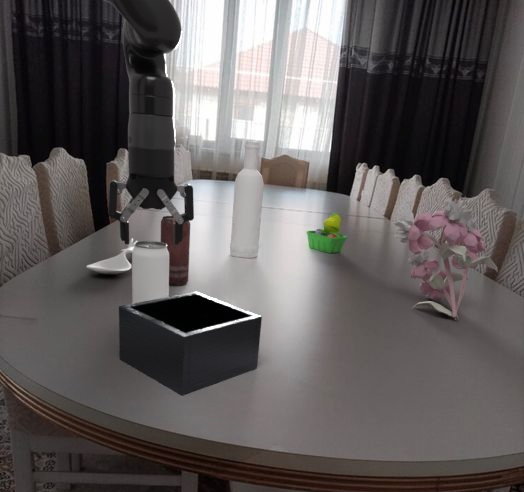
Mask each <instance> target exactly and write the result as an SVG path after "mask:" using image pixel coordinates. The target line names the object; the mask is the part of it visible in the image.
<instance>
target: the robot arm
mask: <svg viewBox="0 0 524 492" xmlns="http://www.w3.org/2000/svg"><path fill="white" fill-rule="evenodd" d="M101 1H102V2H104V3H107V4H110V5H111V6H113V7H114V9H116V11H117V12H118V13H119V14H120V15H121V16H122V18H123V22H122V49H123V55H124V60H125V66H126V73H127V76H128V82H129V83H128V110H129V111H128V112H129V114H128V123H127V124H128V125H127V157H128V158H127V159H128V162H127V163H128V165H127V166H128V178H127V180H126V181H119V180H115V179H110V180H109V182H108V216H109V218H111V219H114V220H116V221H119V238H120V240H121V241H122V242H124V245H129V242H130V222H129V219H130V218H131V216H132V214H134V213H135V212H136V211H137V209H138V208H140V209H142V210H150V209H153V210H159V211H162V210H163V209H164V208H165V209H166V210H167V211H168V212H169V214H170V216H173V218H174V219H175V222H174V227H173V243H174V245H179V242H182V240H183V224H184V223H185V222H187V221H189V222H191V221H193V220H194V219H195V211H194V209H195V208H194V206H195V205H194V187H193V186H192V185H191V184H190V183H185V184H176V181H175V166H176V165H175V164H176V163H175V162H176V157H175V156H176V144H177V141H176V128H175V118H174V117H175V87H174V83H173V80H172V79H171V78H170V77H169V76H168V74H167V63H166V55H168V54H170V53H172V52H173V51H175V50H176V49H177V48H178V46H179V44H180V42H181V39H182V33H183V31H182V30H183V29H182V24H181V20H180V16H179V15H178V13H177V11H176V9H175V7H174V5H173V4H172V2H171V1H170V0H101ZM124 189H126V191H127V192H128V194H129V196H130V197H131V198H130V200H129V201H128V202H127V203H126V205H125V207H124V208H123V209H122V211H119V210H117V209H118V196H119V195H121V194H122V193H123V190H124ZM178 192H179V195H180V197H182V198H183V204H184V205H183V206H184V212H183V213H181V214H180V212H179V211H178V210H177V208H176V206H175V205H174V204H173V202H172V199H174V196H175V195H176V194H177V193H178Z"/></svg>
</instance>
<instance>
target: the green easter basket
mask: <svg viewBox="0 0 524 492" xmlns="http://www.w3.org/2000/svg"><path fill="white" fill-rule="evenodd" d="M340 216H341V215H340V214H339V213H336V212H333V213H332V214H331V215H330V216H329V217H328V218H326V219H325V220H324V221H323V229H322V228H317V229H316V230H306V231H305V233H306V235H307V241H308V248H309V249H314V250H317V251H320V252H324V253H328V254H335V253H341V251H342V250H343V247H344V245H345V242H346V240H347V239H348V236H347V235H343V234H340V233H339V232H340V230H341V223H342V219H341V217H340Z"/></svg>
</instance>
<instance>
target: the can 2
mask: <svg viewBox="0 0 524 492" xmlns="http://www.w3.org/2000/svg"><path fill="white" fill-rule="evenodd" d="M174 222H175V219H174V218H173V216H172V215H165V216H162V219H161V220H160V242H162V243H165V244H167V250H168V252H169V287H170V286H171V287H182V286H186V285H187V284H188V282H189V272H190V271H189V270H190V247H191V244H190V243H191V221H187V222H185V223H184V224H183V240H182V242H179V245H174V243H173V227H174Z"/></svg>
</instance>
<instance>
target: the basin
mask: <svg viewBox="0 0 524 492" xmlns="http://www.w3.org/2000/svg"><path fill="white" fill-rule="evenodd" d="M262 320H263V316H261V315H259V314H256V313H253V312H251V311H249V310H246V309H243V308H241V307H238V306H235V305H233V304H230V303H228V302H226V301H222V300H220V299H217V298H215V297H212V296H209V295H207V294H205V293H201V292H199V291H193V292H186V293H182V294H176V295H171V296H168V297H165V298H160V299H155V300H149V301H144V302H139V303H134V304H132V303H128V304H122V305H118V332H119V333H118V335H119V336H118V337H119V360H120V361H122V362H124V363H125V364H127V365H129V366H131V367H132V368H134V369H136V370H137V371H139V372H141V373H143V374H145V375H146V376H148V377H150V378H151V379H153V380H155V381H156V382H158V383H160V384H161V385H163V386H165V387H167V388H168V389H170V390H172V391H174V392H175V393H177V394H179V395H181V396H185V395H187V394H190V393H193V392H195V391H198V390H200V389H203V388H206V387H209V386H212V385H214V384H217V383H221V382H224V381H226V380H229V379H231V378H234V377H237V376H239V375H242V374H245V373H248V372H250V371H253V370H255V369H258V362H259V351H260V341H261V329H262V322H263V321H262Z"/></svg>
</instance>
